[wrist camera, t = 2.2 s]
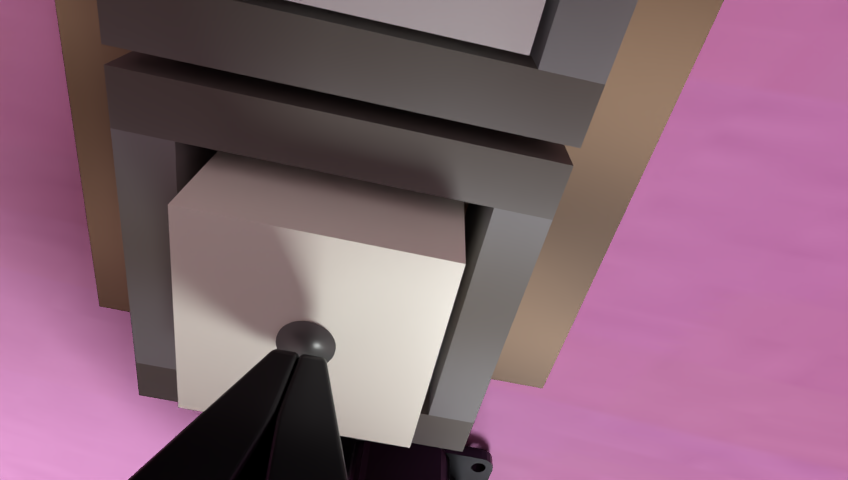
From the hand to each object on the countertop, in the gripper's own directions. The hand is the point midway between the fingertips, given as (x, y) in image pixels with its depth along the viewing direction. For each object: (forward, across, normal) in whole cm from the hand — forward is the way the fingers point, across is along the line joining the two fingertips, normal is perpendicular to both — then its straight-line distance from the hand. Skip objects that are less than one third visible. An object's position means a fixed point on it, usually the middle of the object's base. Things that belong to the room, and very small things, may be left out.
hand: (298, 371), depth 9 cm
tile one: (+3, 0, 0) cm, 3 cm away
